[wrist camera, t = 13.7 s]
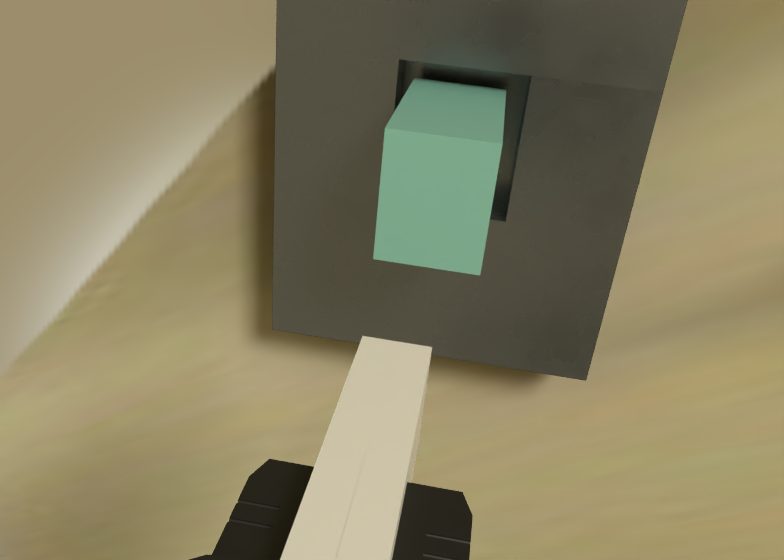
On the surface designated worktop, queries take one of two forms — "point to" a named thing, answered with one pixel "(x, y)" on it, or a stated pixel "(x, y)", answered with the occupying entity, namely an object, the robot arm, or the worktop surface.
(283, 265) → the socket
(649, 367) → the worktop surface
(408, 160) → the plug
